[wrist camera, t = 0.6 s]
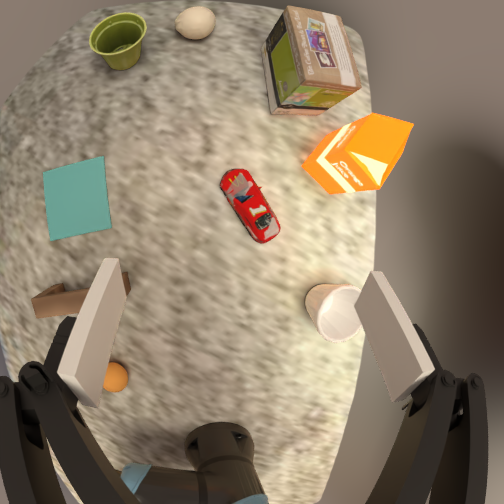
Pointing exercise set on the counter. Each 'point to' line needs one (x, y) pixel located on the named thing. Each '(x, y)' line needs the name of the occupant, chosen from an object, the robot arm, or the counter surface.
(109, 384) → the ball
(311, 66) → the tea box
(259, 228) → the race car
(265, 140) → the counter surface
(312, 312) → the cup
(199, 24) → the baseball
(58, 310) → the bridge
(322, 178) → the orange juice
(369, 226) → the counter surface
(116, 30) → the plant pot
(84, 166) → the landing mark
